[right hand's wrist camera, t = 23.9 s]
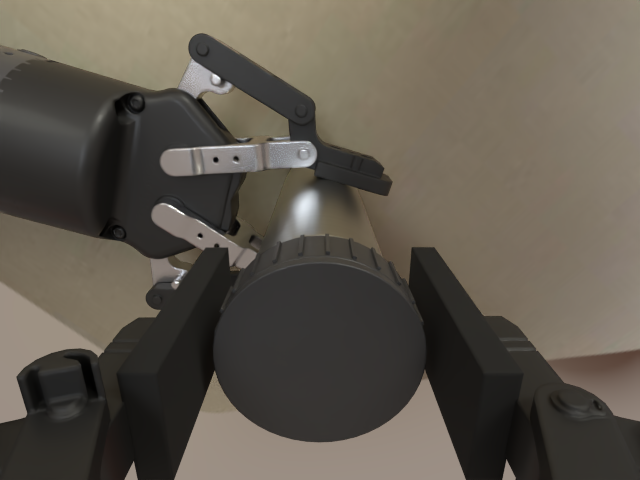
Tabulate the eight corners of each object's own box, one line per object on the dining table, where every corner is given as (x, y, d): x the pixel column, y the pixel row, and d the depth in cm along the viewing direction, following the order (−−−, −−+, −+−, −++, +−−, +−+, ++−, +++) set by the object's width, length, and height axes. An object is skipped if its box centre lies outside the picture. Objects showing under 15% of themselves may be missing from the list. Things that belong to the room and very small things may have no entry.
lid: (186, 320, 12) (163, 359, 10) (321, 190, 11) (322, 210, 9) (318, 425, 13) (317, 476, 12) (452, 322, 12) (474, 361, 10)
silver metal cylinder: (277, 160, 26) (217, 267, 11) (351, 150, 26) (399, 245, 10) (289, 230, 28) (251, 411, 12) (359, 221, 28) (410, 394, 12)
